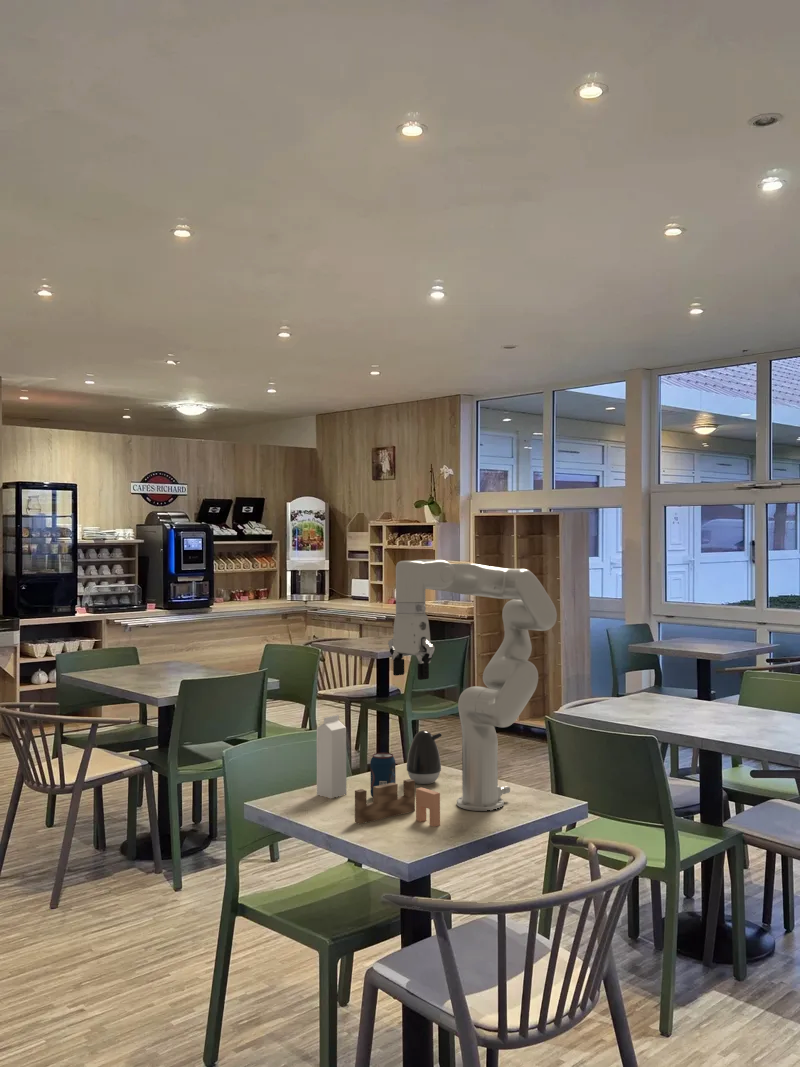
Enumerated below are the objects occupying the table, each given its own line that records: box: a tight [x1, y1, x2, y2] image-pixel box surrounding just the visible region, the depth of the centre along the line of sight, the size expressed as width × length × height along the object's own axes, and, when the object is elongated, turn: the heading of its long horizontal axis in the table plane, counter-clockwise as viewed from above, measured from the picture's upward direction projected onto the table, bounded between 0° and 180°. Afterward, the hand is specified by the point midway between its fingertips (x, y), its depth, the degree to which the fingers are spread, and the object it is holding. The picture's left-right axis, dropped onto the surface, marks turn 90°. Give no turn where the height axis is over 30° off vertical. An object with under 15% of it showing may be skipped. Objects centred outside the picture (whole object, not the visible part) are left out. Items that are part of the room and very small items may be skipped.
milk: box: [316, 714, 347, 799], centre depth 256 cm, size 6×6×22 cm
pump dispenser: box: [406, 730, 443, 785], centre depth 269 cm, size 10×10×15 cm
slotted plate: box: [415, 786, 441, 828], centre depth 229 cm, size 2×7×8 cm, turn 39°
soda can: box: [370, 752, 397, 799], centre depth 252 cm, size 7×7×12 cm
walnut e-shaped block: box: [354, 778, 416, 825], centre depth 235 cm, size 18×2×8 cm, turn 129°
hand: (410, 677), depth 230 cm, fingers open, 9 cm apart
